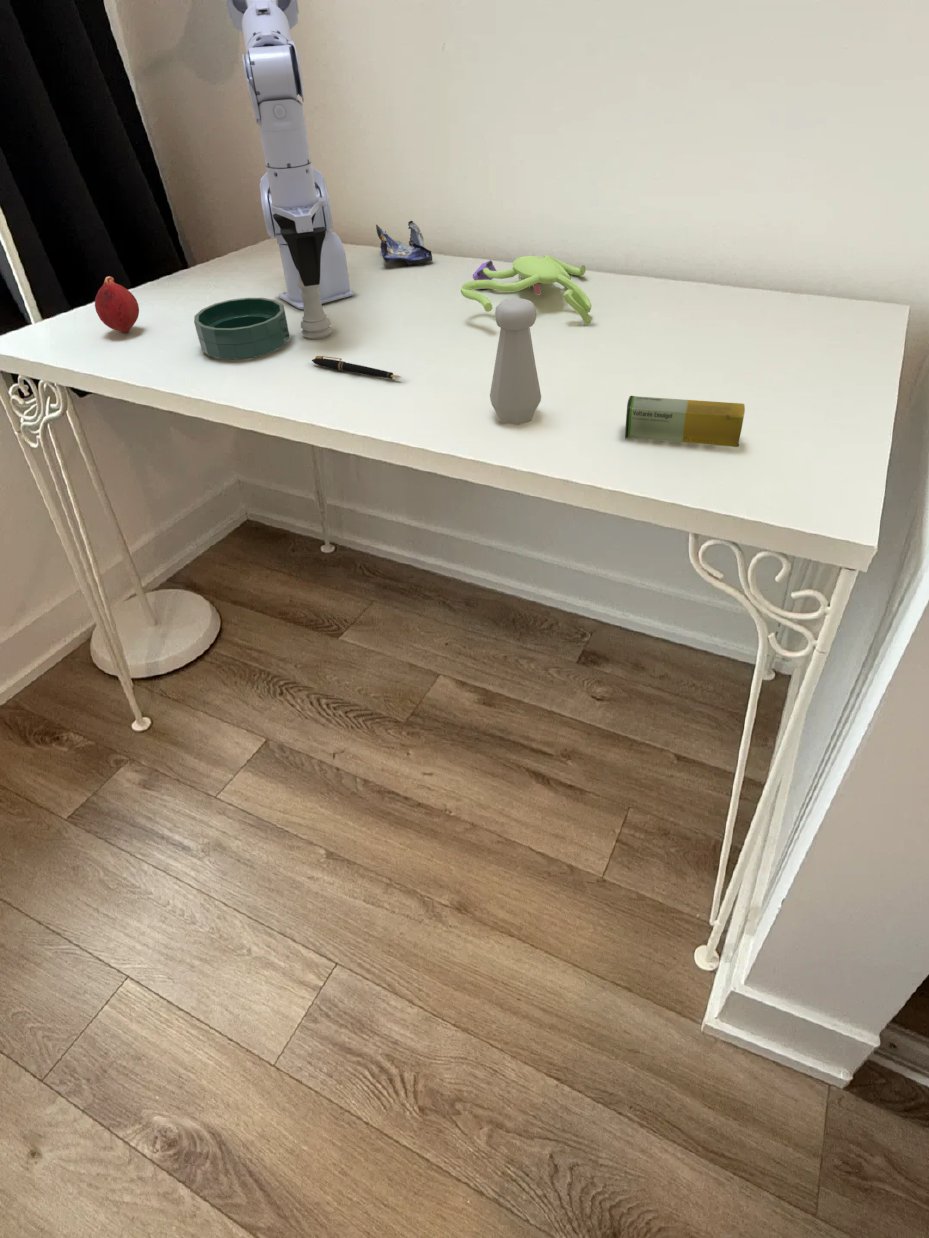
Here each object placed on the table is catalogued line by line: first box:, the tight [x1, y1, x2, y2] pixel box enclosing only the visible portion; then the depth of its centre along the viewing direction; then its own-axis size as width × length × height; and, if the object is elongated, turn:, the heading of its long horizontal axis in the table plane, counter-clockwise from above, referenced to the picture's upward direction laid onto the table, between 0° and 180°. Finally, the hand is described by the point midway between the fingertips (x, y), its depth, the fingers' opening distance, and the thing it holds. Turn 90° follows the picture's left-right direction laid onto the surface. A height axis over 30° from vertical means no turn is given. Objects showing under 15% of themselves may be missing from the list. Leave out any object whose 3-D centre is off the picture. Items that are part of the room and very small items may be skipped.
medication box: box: [624, 395, 746, 448], centre depth 83 cm, size 12×3×4 cm, turn 73°
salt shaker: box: [489, 297, 542, 426], centre depth 86 cm, size 6×6×13 cm
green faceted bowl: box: [193, 297, 291, 360], centre depth 109 cm, size 12×12×4 cm
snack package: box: [375, 220, 433, 268], centre depth 136 cm, size 12×6×12 cm
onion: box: [94, 275, 140, 334], centre depth 114 cm, size 6×6×8 cm
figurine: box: [460, 254, 593, 325], centre depth 117 cm, size 18×27×6 cm
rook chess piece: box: [297, 276, 333, 340], centre depth 110 cm, size 4×4×8 cm
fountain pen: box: [311, 355, 401, 380], centre depth 101 cm, size 14×1×2 cm, turn 62°
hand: (307, 276), depth 107 cm, fingers open, 7 cm apart
